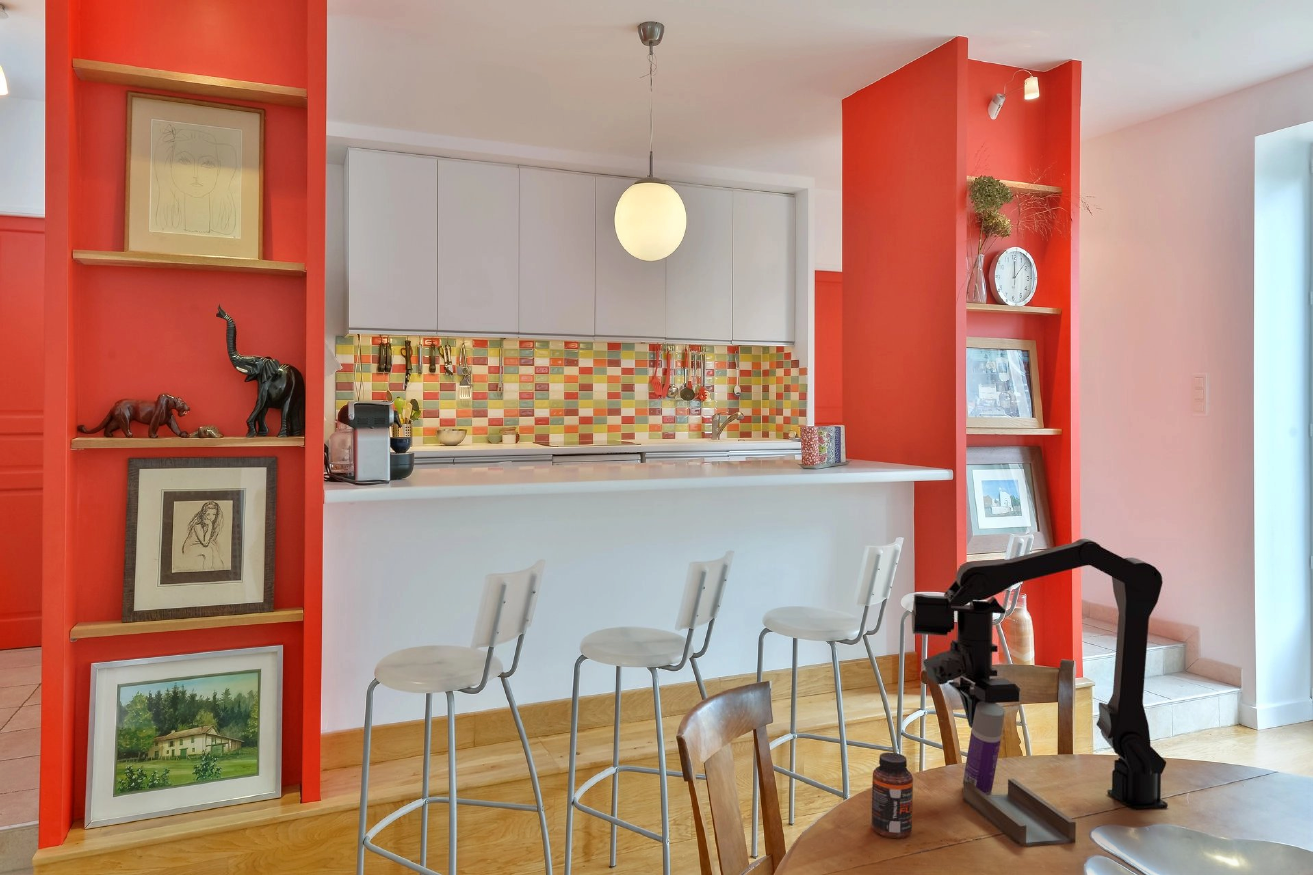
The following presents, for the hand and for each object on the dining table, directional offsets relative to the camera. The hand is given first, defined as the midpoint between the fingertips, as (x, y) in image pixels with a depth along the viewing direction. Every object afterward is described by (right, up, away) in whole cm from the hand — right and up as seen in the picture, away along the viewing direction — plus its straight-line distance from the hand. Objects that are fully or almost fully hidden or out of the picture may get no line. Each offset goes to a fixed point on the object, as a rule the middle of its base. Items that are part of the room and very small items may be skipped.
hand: (973, 727), depth 148 cm
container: (0, -10, -1) cm, 10 cm away
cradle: (+2, -10, -13) cm, 16 cm away
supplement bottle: (-18, -10, -17) cm, 27 cm away
